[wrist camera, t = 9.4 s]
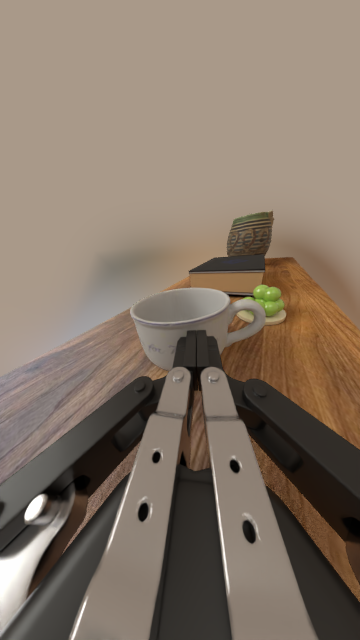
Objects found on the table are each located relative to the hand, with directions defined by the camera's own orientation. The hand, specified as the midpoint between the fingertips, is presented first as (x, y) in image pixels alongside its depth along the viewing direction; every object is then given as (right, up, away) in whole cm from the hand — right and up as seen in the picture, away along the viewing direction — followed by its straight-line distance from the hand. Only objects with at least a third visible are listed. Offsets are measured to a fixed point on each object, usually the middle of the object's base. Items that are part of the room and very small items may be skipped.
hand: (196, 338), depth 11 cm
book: (+15, +13, +33) cm, 38 cm away
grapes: (+13, +3, +14) cm, 20 cm away
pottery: (+31, +28, +54) cm, 68 cm away
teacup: (+1, -3, +7) cm, 8 cm away
